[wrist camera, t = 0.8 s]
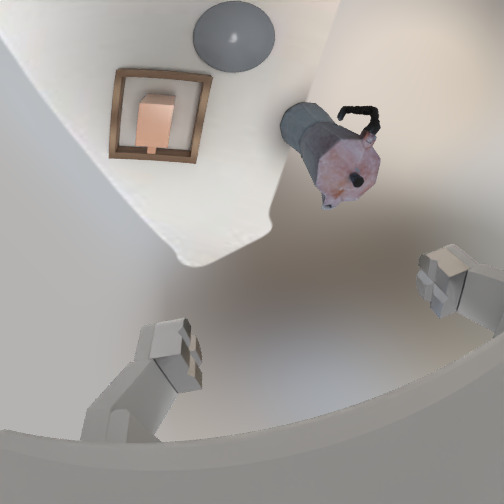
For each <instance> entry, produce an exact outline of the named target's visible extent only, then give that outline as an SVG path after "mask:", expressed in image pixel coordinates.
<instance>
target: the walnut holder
mask: <svg viewBox="0 0 504 504" xmlns="http://www.w3.org/2000/svg"><path fill="white" fill-rule="evenodd" d="M125 77H148V78H164V79H176V80H186V81H195V82H203V84H202V89H201V94H200V99H199V104H198V109H197V114H196V120H195V125H194V131H193V137H192V143H191V149H190V151H186V150H174V149H161V148H157V149H156V153H155V154H149V153H147V149H148V148H146V147H125V146H119V134H120V121H121V110H122V101H123V92H124V84H125ZM212 79H213V77H212V76H211V75H204V74H196V73H187V72H177V71H166V70H151V69H118V70H116V75H115V83H114V91H113V100H112V111H111V124H110V141H109V158H114V159H138V160H155V161H169V162H182V163H193V164H196V161H197V155H198V149H199V143H200V138H201V132H202V127H203V122H204V117H205V112H206V107H207V102H208V97H209V92H210V88H211V83H212Z"/></svg>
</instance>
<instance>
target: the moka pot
mask: <svg viewBox="0 0 504 504" xmlns="http://www.w3.org/2000/svg"><path fill="white" fill-rule="evenodd" d="M346 113H348V114H349V113H353V114H363V115H370V116H371V120H370V123H369V125H368V126H367V127H365V128H364V129H363V131H362V132H361V134H360V135H358V134H356V133H354V132H352V131H350V130H348V129H346V128H344V127H342V126H338V125H337V124H335V123H334V121H333V120H332V119H331V118H330V116H329V115H328V114H327V113H326V112H325V111H324V110H323V109H322V108H321V107H319V106H318V105H317V104H316V103H299V104H297V105H295V106H293V107H292V108H290V109H289V110H288V111H286V113H285V114H284V116H283V119H282V122H281V126H280V127H281V133H282V137H283V139H284V141H285V142H286V143H288V144H289V145H290V146H291V147H293V148H294V149H295V150H296V151H298V152H299V153H300V154H301V157H302V158H303V161H304V163H305V165H306V167H307V169H308V171H309V174H310V176H311V178H312V180H313V182H314V185H315V186H316V187H317V188H318V189H319V190H320V191H321V192H322V200H323V205H322V209H324V210H331V209H332V208H334V207H336V206H337V205H338V204H339V203H341V202H342V201H353V200H357V199H358V198H359V197H360V196H362V195H363V194H364V193H365V192H366V191H367V190H369V188H371V187H372V186H373V185H374V184H375V182H376V178H377V174H378V170H379V166H380V157H379V156H378V154H377V153H376V151H375V150H374V148H373V147H372V145H373V144H374V142H375V140H376V136H375V134H376V133H377V132H378V131H379V129H380V124H379V122H380V121H379V120H378V118H379V114H378V109H377V108H376V107H373V106H361V107H360V106H355V107H353V106H343V107H342V108H341V110H340V112H339V113H338V116H337V118H338V120H339V121H341V120H343V118H344V116H345V114H346Z"/></svg>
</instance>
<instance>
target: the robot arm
mask: <svg viewBox="0 0 504 504" xmlns="http://www.w3.org/2000/svg"><path fill="white" fill-rule="evenodd" d="M418 266H419V267H420V269H421V270H420V271H419V273H418V274H417V280H416V285H417V290H418V292H419V294H420V296H421V297H422V298H423V299H424V300H426V301H429V302H430V308H431V309H432V310H433V311H434V312H435V313H436V315H437V316H438V317H439V319H440V318H443V317H445V316H447V315H450V314H452V313H454V312H457V313H459V314H461V315H463V316H465V317H467V318H469V319H470V320H472V321H474V322H476V323H478V324H480V325H482V326H483V327H485V328H487V329H489V330H491V331H493V332H494V333H495V334H494V336H493V338H492V340H490V341H488V342H487V343H485V344H483V345H482V346H480V347H478V348H477V349H475V350H473V351H472V352H470V353H468V354H466V355H465V356H463V357H461V358H459V359H458V360H456V361H454V362H452V363H450V364H448V365H446V366H444V367H443V368H440V369H439V370H437V371H435V372H432V373H430V374H428V375H426V376H424V377H422V378H420V379H418V380H416V381H414V382H411V383H409V384H407V385H404V386H402V387H400V388H397V389H395V390H393V391H390V392H388V393H386V394H383V395H380V396H378V397H375V398H372V399H370V400H367V401H364V402H362V403H359V404H356V405H353V406H350V407H347V408H344V409H341V410H338V411H334V412H331V413H328V414H325V415H321V416H318V417H314V418H310V419H307V420H303V421H299V422H295V423H292V424H287V425H283V426H278V427H274V428H269V429H264V430H259V431H254V432H248V433H243V434H236V435H230V436H223V437H216V438H208V439H199V440H189V441H175V442H161V441H160V440H159V439H158V438H156V437H155V436H154V434H155V433H156V431H157V429H158V428H159V426H160V424H161V423H162V421H163V419H164V418H165V416H166V414H167V413H168V410H169V409H170V408H171V406H172V404H173V403H174V401H175V399H176V398H177V396H178V394H177V393H183V392H189V391H194V390H201V389H202V372H201V370H200V368H199V366H200V365H201V363H202V354H201V348H200V345H199V342H198V340H197V337H196V336H195V335H193V334H192V333H191V325H190V323H189V321H188V319H186V318H182V319H176V320H170V321H165V322H160V323H155V324H149V325H144V326H143V327H142V328H141V332H140V336H139V340H138V345H137V349H136V353H135V358H134V362H130V363H129V364H128V365H127V366H126V367H125V368H124V369H123V370H122V372H121V373H120V374H119V375H118V376H117V377H116V378H115V379H114V380H113V381H112V382H111V384H110V385H109V386H108V387H107V388H106V389H105V390H104V391H103V392H102V394H100V396H99V397H98V398H97V399H96V400H95V401H94V402H93V403H92V405H91V406H90V407H89V408H88V409H87V412H86V417H85V421H84V425H83V429H82V434H81V438H80V441H75V440H64V439H57V438H49V437H43V436H36V435H30V434H25V433H20V432H16V431H11V430H1V431H0V504H504V270H500V269H498V268H494V267H491V266H488V265H485V264H481V265H479V264H478V263H477V262H476V261H475V260H474V259H472V258H471V257H470V256H469V255H467V254H466V253H465V252H464V251H463V250H461V249H460V248H459V247H458V246H456V245H454V244H450V245H447V246H444V247H442V248H440V249H437V250H434V251H431V252H428V253H425V254H422V255H421V256H420V258H419V263H418Z"/></svg>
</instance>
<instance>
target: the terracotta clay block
mask: <svg viewBox="0 0 504 504" xmlns="http://www.w3.org/2000/svg"><path fill="white" fill-rule="evenodd" d="M174 102H175V96H170V95H156V94H146V96H145V97H144V98H143V99H142V101H141V102H140V104H139V113H138V121H137V131H136V142H135V146H147V147H148V149H147V153H149V154H155V153H156V149H157V147H163V148H168V142H169V135H170V128H171V121H172V114H173V108H174Z"/></svg>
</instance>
